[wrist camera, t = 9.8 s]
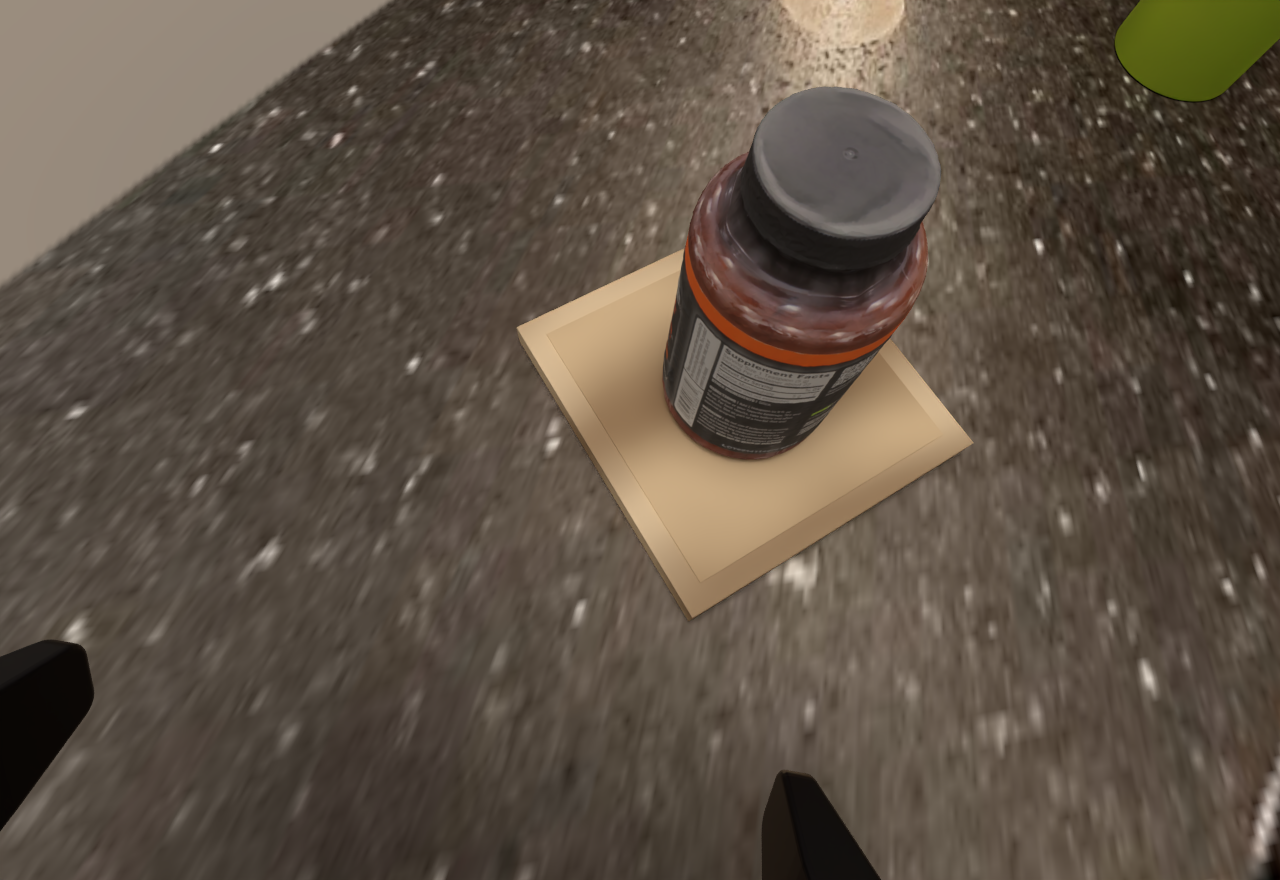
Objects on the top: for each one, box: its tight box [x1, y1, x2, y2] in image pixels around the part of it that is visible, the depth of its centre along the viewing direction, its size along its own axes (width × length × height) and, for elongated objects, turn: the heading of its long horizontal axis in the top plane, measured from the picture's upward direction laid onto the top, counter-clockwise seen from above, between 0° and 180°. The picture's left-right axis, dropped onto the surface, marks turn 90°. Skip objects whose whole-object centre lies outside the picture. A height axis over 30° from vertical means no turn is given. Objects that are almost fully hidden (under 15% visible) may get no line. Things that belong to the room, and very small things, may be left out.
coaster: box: [517, 248, 973, 622], centre depth 25 cm, size 12×12×1 cm
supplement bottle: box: [662, 87, 941, 460], centre depth 19 cm, size 6×6×11 cm
